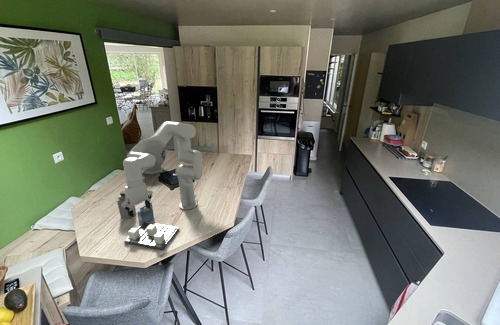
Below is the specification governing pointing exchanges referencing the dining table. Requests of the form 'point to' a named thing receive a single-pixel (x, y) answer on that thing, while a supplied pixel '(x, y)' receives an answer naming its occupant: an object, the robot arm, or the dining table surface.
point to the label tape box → (145, 214)
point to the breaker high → (159, 237)
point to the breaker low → (133, 233)
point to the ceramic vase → (159, 157)
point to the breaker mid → (151, 230)
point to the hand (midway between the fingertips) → (140, 212)
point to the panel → (148, 241)
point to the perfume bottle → (123, 211)
